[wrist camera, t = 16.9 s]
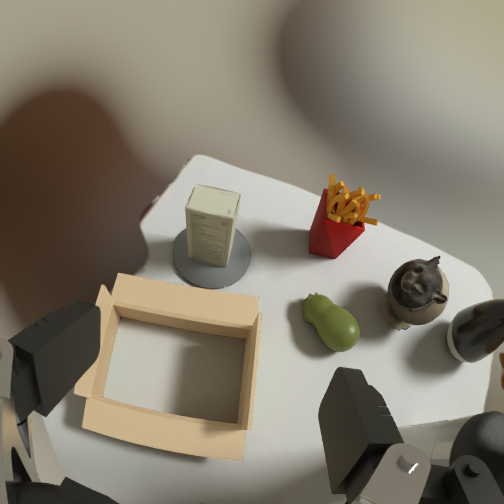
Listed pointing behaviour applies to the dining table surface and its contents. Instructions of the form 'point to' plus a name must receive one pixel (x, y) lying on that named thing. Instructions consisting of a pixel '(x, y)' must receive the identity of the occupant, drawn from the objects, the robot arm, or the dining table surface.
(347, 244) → the french fries
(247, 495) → the dining table surface
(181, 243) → the coaster
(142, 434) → the carton
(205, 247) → the skincare box
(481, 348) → the dark grey rounded figure
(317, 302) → the pear
